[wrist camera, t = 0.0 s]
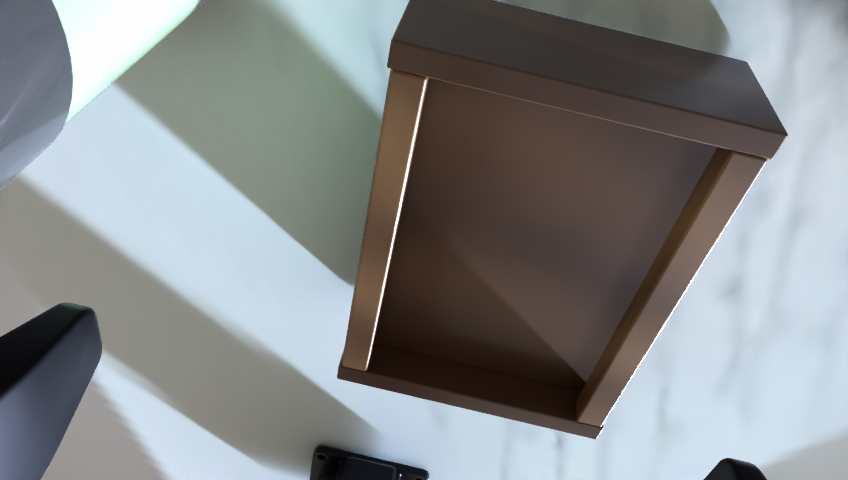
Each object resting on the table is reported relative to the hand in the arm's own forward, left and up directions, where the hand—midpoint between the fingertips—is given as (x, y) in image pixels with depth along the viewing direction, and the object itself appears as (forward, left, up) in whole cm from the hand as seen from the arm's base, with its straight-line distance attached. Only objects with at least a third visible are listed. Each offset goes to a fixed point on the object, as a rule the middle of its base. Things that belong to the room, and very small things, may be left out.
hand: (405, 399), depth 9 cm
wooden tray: (-6, -3, -15) cm, 16 cm away
